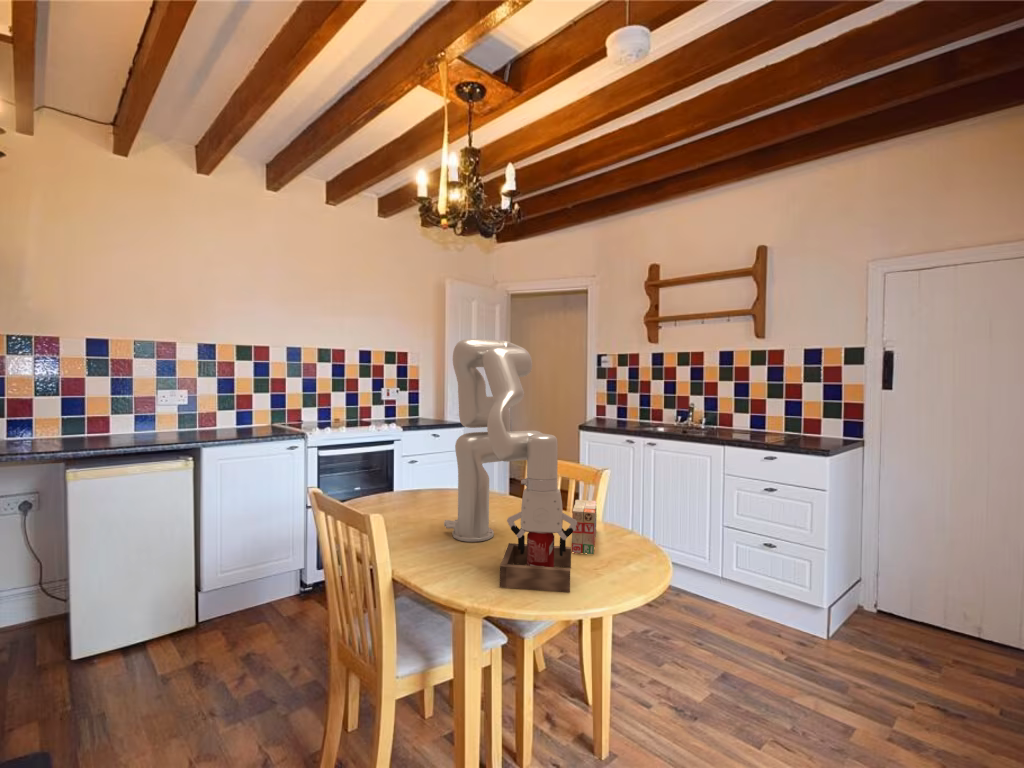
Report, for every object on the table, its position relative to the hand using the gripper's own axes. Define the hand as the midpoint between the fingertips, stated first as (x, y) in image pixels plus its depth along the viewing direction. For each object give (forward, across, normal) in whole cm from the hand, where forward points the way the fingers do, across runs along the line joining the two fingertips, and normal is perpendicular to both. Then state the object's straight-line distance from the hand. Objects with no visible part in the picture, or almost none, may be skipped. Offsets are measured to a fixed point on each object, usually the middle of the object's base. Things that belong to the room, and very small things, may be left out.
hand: (541, 553), depth 127 cm
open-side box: (+6, -1, +1) cm, 6 cm away
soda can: (+6, 0, 0) cm, 6 cm away
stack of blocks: (+6, +11, +28) cm, 31 cm away
